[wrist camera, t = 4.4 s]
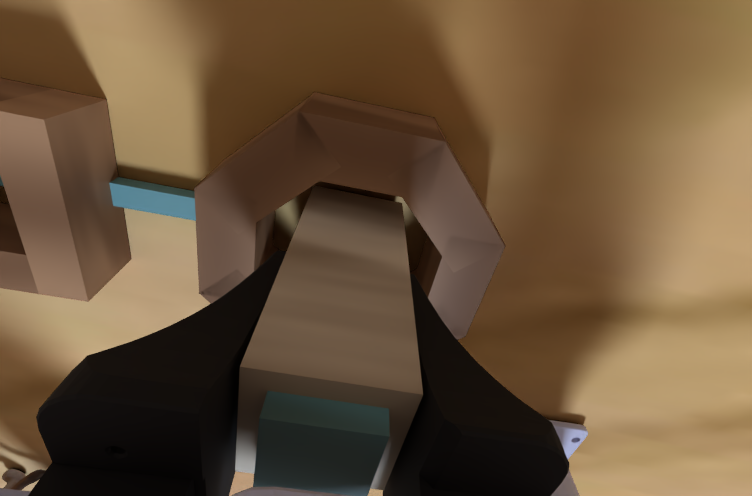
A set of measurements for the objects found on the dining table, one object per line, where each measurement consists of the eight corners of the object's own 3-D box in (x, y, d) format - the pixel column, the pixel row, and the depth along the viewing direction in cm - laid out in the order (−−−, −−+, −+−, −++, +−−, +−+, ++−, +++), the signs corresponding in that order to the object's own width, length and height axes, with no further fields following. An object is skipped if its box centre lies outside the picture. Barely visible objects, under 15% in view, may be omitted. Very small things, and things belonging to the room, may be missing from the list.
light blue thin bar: (208, 215, 16) (202, 221, 16) (-76, 163, 15) (-92, 169, 15) (207, 193, 16) (201, 199, 15) (-87, 138, 15) (-103, 143, 14)
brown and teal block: (382, 274, 17) (383, 517, 9) (303, 260, 17) (226, 499, 8) (401, 203, 15) (426, 422, 7) (313, 185, 15) (228, 393, 7)
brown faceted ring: (435, 337, 20) (443, 386, 17) (226, 303, 19) (201, 350, 16) (514, 134, 14) (542, 161, 12) (225, 72, 13) (189, 87, 11)
